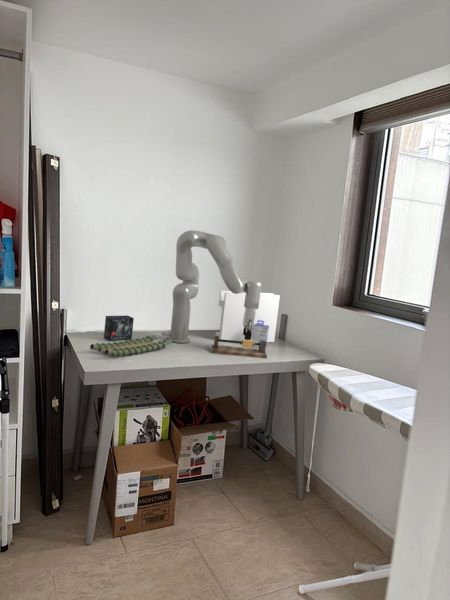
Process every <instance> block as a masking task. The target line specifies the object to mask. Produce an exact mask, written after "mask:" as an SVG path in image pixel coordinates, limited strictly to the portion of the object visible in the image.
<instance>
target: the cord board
mask: <svg viewBox="0 0 450 600" xmlns="http://www.w3.org/2000/svg"><path fill="white" fill-rule="evenodd" d="M219 342H220V343H229V344H230V343H231V344H241V345H242V344H243V341H233V340H223V339H219V336H215V335H214V342H213V344H211V354H219V355H229V356H237V357H239V356H240V357H250V358H260V359H267V357H268V355H267V352H266V348H267V346H266V340H260V342H259V343H254V341H253V343H252V348H249V347H242V346H240V347H239V346H230V345H222V344H221V345H220V344H219ZM254 345H259V347H258V348H253V347H254Z"/></svg>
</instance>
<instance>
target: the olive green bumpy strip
mask: <svg viewBox="0 0 450 600" xmlns="http://www.w3.org/2000/svg"><path fill="white" fill-rule="evenodd" d="M157 339H158V336H157V335H156V334H154V335H152V336H150V335H147V336H145V337H141V338H139V337H138V338H136V339H132V340H124V341H119V342H118V341H113V342H108V343H104V342H101V343H98V342H96V344H95V343H91V344H90V345H89V348H90V350H92V351H98V352H99V353H100V352H104V354H105V355H106V356H110V357H112V358H113V357H115V356H116V357H118V358H119V357H121V356H123V357H124V358H125V357H127V355H129V356H133V355H134V354H135V355H139V354H144V353H146V352H147V353H150V352H151V351H152V352H154V351H156V350H161V349H162V348H163V349H164V348H165V349H166V347H167V346H169V345H171V344H172V343H173V342H172V341H171V340H170V339H169V340H167V339H163V340H162V341H158V342H156V341H155V340H157Z"/></svg>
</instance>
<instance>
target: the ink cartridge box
mask: <svg viewBox="0 0 450 600" xmlns="http://www.w3.org/2000/svg"><path fill="white" fill-rule="evenodd" d="M258 322H263V323H258ZM268 329H269V326H268V325H264V321H261V320H258V321H257V324H254V325H253V328H252V334H251V339H252V340H253V341H254V343H259V342H260V340H266V347H267V345H268V342H267V338H268ZM253 347H256V348H259V345H254V346H253Z"/></svg>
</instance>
